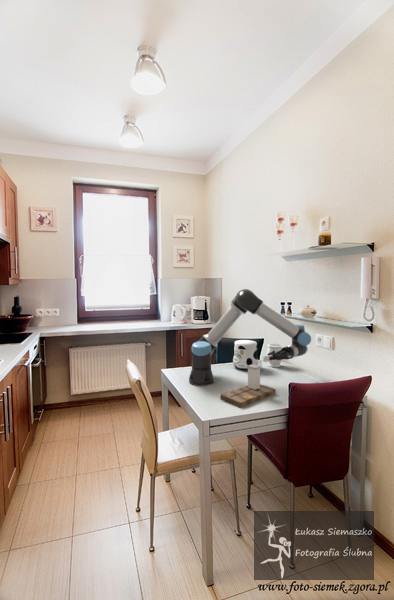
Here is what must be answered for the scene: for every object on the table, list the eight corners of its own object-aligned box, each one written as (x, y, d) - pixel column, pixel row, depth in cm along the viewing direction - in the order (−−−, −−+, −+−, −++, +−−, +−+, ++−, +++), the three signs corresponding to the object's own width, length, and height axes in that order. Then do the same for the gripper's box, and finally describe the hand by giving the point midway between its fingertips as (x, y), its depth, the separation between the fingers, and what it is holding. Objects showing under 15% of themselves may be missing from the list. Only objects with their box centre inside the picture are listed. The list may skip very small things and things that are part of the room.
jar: (279, 368, 218) (279, 347, 217) (265, 366, 224) (265, 345, 223) (284, 365, 227) (284, 344, 226) (270, 363, 233) (270, 342, 232)
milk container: (228, 368, 219) (228, 342, 218) (240, 362, 234) (240, 338, 232) (251, 372, 210) (251, 345, 208) (262, 366, 224) (262, 341, 222)
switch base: (255, 387, 182) (255, 382, 182) (275, 393, 172) (275, 389, 172) (220, 399, 164) (220, 394, 164) (240, 407, 154) (240, 402, 154)
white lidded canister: (252, 385, 176) (252, 364, 176) (260, 388, 172) (260, 366, 171) (247, 387, 173) (247, 365, 173) (255, 390, 169) (255, 367, 168)
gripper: (298, 360, 188) (274, 368, 172) (280, 356, 197) (255, 363, 182) (298, 347, 187) (274, 354, 172) (280, 344, 197) (255, 350, 182)
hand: (264, 359), depth 177 cm, fingers closed
